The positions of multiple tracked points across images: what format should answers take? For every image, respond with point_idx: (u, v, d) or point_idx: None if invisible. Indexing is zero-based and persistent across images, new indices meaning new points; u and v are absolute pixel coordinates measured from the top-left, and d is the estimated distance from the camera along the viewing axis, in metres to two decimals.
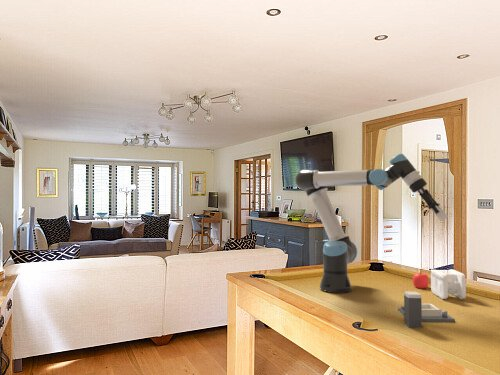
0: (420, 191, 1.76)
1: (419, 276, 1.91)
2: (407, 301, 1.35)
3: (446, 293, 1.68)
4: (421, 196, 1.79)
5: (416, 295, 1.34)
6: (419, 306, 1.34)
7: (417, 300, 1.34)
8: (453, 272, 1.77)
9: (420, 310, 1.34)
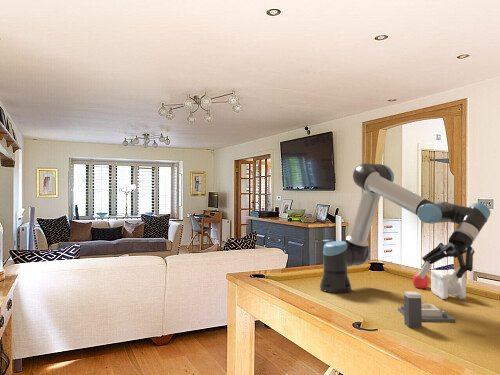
0: (471, 249, 1.38)
1: (419, 276, 1.91)
2: (407, 301, 1.35)
3: (446, 293, 1.68)
4: (458, 249, 1.41)
5: (416, 295, 1.34)
6: (419, 306, 1.34)
7: (417, 300, 1.34)
8: (453, 272, 1.77)
9: (420, 310, 1.34)
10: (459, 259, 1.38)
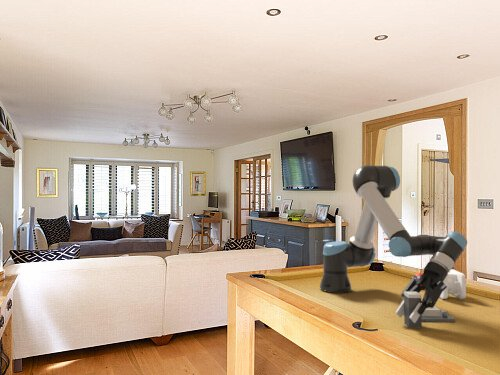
0: (443, 285, 1.33)
1: None
2: (407, 301, 1.35)
3: (446, 293, 1.68)
4: (430, 282, 1.36)
5: (416, 295, 1.34)
6: None
7: (417, 300, 1.34)
8: (453, 272, 1.77)
9: None
10: (425, 294, 1.34)
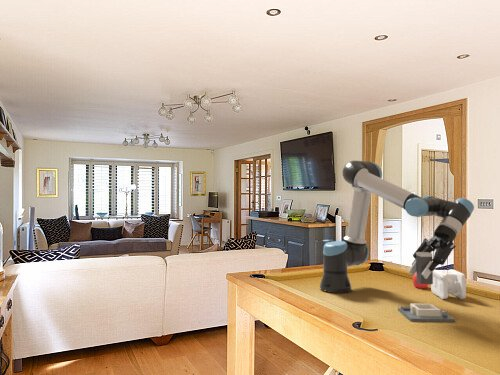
0: (452, 245, 1.45)
1: None
2: (419, 260, 1.47)
3: (446, 293, 1.68)
4: (440, 243, 1.48)
5: (427, 254, 1.46)
6: None
7: (429, 259, 1.46)
8: (453, 272, 1.77)
9: None
10: (436, 253, 1.46)
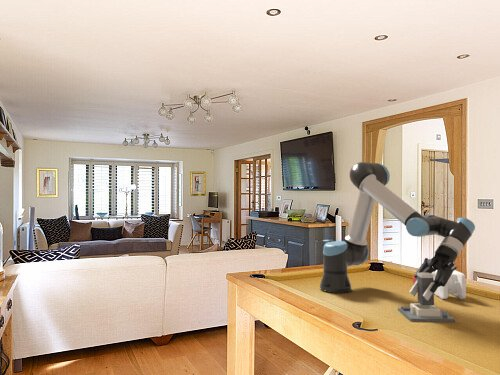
0: (453, 266, 1.44)
1: None
2: (420, 281, 1.47)
3: (446, 293, 1.68)
4: (441, 264, 1.48)
5: (429, 275, 1.45)
6: None
7: (430, 280, 1.45)
8: (453, 272, 1.77)
9: None
10: (437, 274, 1.46)
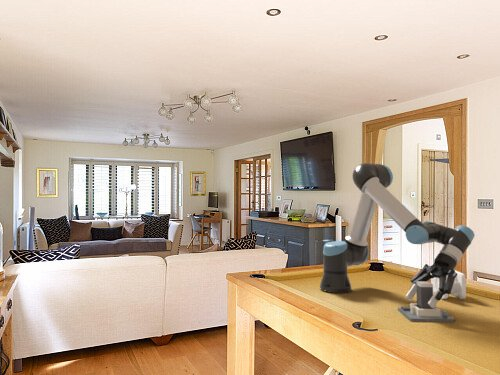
0: (454, 273, 1.45)
1: None
2: (419, 290, 1.47)
3: None
4: (441, 271, 1.48)
5: (428, 284, 1.46)
6: (431, 294, 1.45)
7: (429, 289, 1.46)
8: None
9: None
10: (440, 281, 1.45)
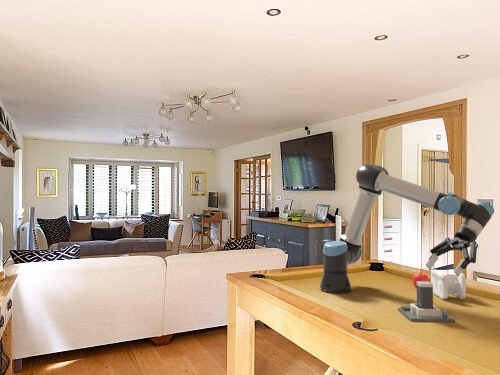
0: (476, 244, 1.53)
1: (419, 276, 1.91)
2: (419, 290, 1.47)
3: (446, 293, 1.68)
4: (463, 243, 1.55)
5: (428, 284, 1.46)
6: (431, 294, 1.45)
7: (429, 289, 1.46)
8: (453, 272, 1.77)
9: (432, 298, 1.45)
10: (464, 252, 1.52)
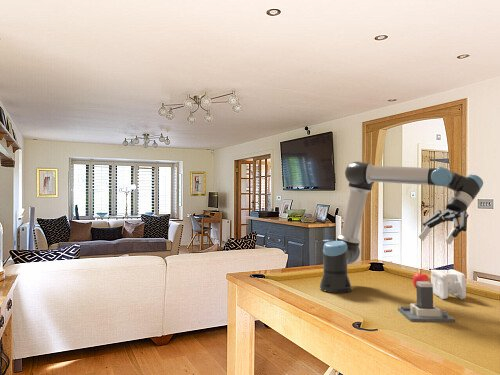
0: (466, 213, 1.58)
1: (419, 276, 1.91)
2: (419, 290, 1.47)
3: (446, 293, 1.68)
4: (454, 214, 1.61)
5: (428, 284, 1.46)
6: (431, 294, 1.45)
7: (429, 289, 1.46)
8: (453, 272, 1.77)
9: (432, 298, 1.45)
10: (455, 222, 1.57)
